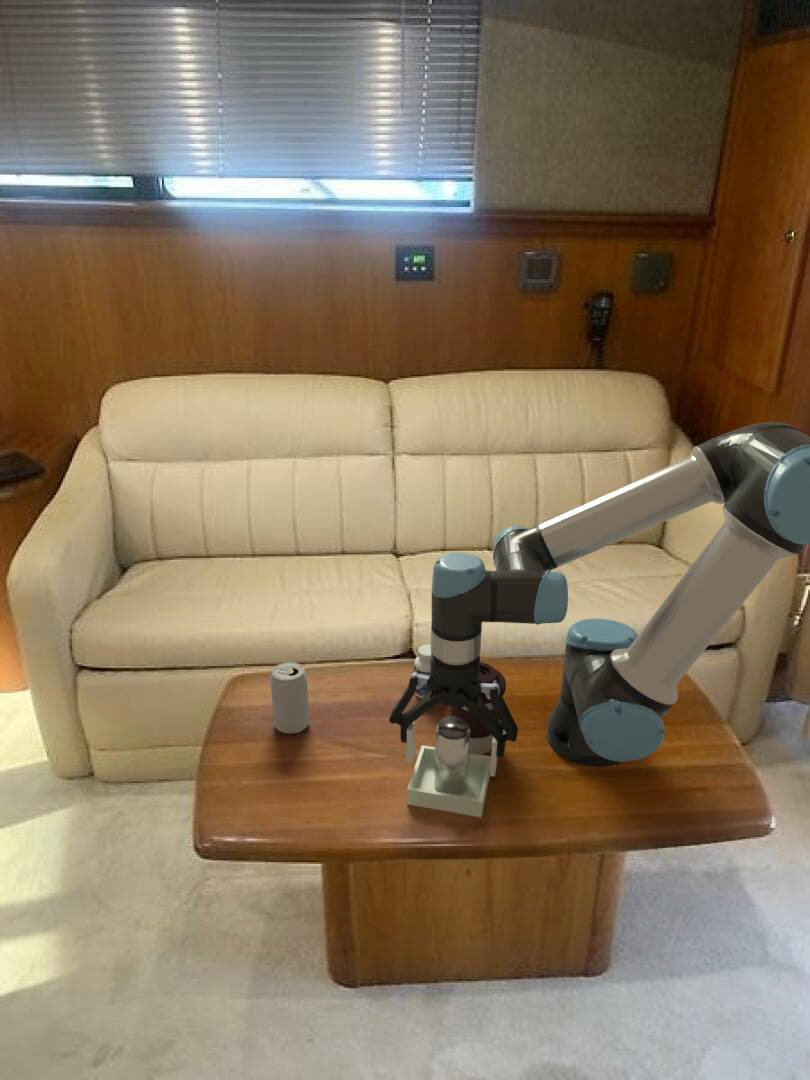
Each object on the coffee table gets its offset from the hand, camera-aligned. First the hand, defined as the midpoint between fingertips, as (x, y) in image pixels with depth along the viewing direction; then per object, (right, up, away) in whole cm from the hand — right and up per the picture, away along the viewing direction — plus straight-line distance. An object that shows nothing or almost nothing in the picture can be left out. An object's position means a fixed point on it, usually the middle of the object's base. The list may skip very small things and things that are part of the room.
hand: (451, 764), depth 127 cm
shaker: (0, -4, +2) cm, 4 cm away
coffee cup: (+5, 0, +12) cm, 13 cm away
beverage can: (-28, +2, +16) cm, 33 cm away
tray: (0, -4, +2) cm, 5 cm away
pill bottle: (-3, +6, +26) cm, 27 cm away
